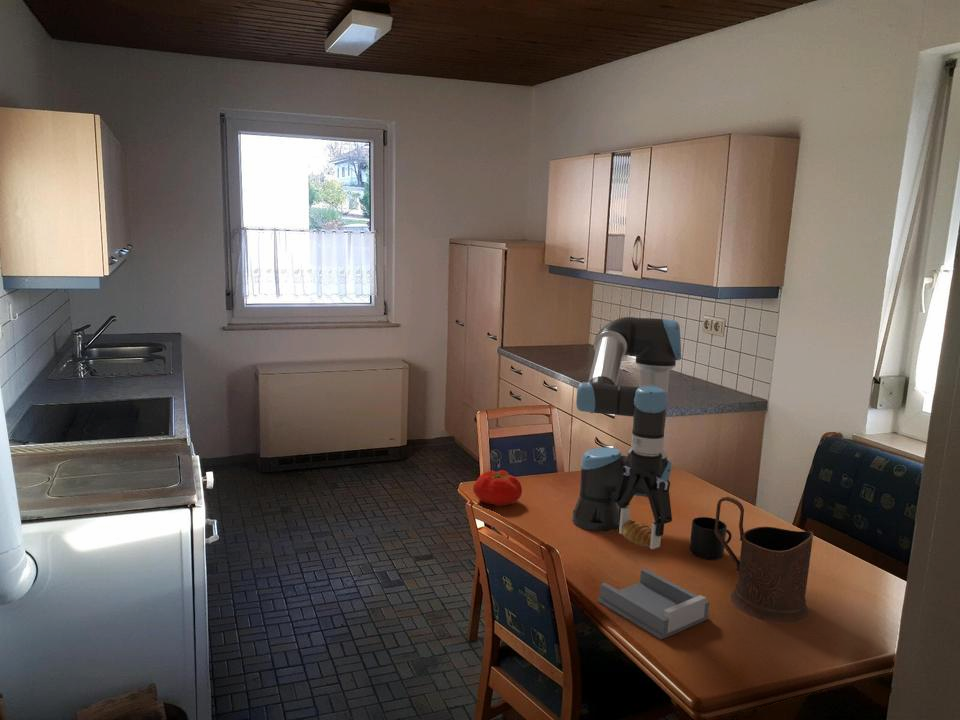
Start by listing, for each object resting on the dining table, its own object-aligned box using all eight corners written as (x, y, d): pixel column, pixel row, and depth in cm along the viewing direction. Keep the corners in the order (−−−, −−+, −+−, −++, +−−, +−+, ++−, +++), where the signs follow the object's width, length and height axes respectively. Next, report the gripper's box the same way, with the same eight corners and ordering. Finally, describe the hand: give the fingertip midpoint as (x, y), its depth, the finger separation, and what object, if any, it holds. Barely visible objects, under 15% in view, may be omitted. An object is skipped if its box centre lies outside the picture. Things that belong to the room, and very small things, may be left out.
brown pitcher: (802, 632, 171) (815, 531, 167) (699, 601, 184) (708, 506, 179) (814, 600, 187) (827, 506, 182) (718, 573, 199) (727, 485, 195)
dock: (597, 601, 182) (599, 578, 180) (644, 584, 191) (646, 562, 190) (661, 639, 166) (663, 615, 165) (708, 618, 175) (711, 595, 174)
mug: (738, 559, 208) (741, 529, 207) (698, 561, 206) (701, 530, 204) (721, 545, 217) (724, 516, 216) (683, 546, 215) (686, 517, 214)
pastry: (665, 544, 179) (666, 529, 178) (646, 550, 175) (647, 535, 175) (636, 530, 187) (637, 516, 186) (617, 536, 183) (618, 522, 182)
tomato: (507, 515, 233) (509, 485, 232) (464, 503, 242) (465, 474, 240) (529, 501, 245) (530, 473, 244) (487, 490, 254) (488, 463, 252)
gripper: (602, 442, 183) (596, 527, 187) (672, 467, 166) (664, 560, 170) (623, 438, 187) (616, 521, 191) (694, 462, 170) (685, 553, 174)
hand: (639, 539), depth 180 cm, fingers closed on pastry, 9 cm apart
